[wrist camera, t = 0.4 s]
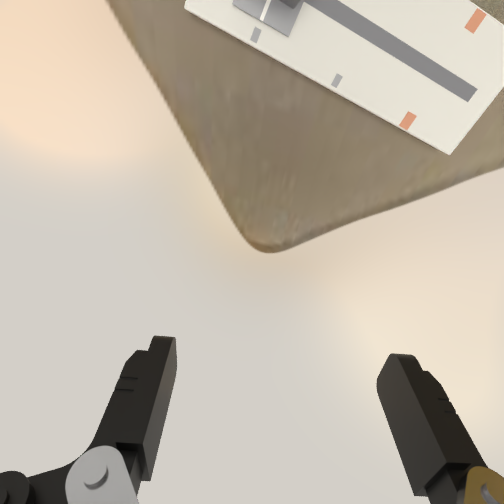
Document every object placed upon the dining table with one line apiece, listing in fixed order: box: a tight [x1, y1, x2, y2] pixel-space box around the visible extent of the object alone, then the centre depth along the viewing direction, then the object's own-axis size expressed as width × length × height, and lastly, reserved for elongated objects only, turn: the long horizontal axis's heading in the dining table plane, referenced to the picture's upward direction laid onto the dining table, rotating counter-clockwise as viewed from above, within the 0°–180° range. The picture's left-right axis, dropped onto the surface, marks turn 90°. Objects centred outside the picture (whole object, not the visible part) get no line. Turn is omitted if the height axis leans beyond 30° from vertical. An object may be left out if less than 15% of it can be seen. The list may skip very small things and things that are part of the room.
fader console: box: [184, 0, 504, 155], centre depth 26 cm, size 10×28×2 cm, turn 65°
